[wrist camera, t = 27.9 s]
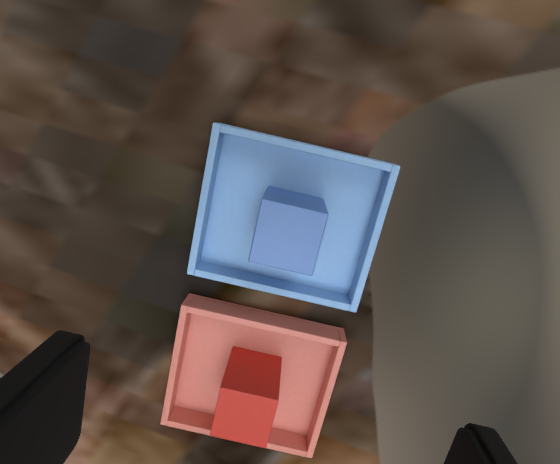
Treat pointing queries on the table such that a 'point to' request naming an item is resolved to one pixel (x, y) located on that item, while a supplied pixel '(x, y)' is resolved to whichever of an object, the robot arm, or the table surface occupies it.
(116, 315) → the table surface
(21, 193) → the table surface
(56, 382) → the robot arm
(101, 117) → the table surface
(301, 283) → the blue tray
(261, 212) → the blue block
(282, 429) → the rose tray
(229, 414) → the red block
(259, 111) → the table surface
